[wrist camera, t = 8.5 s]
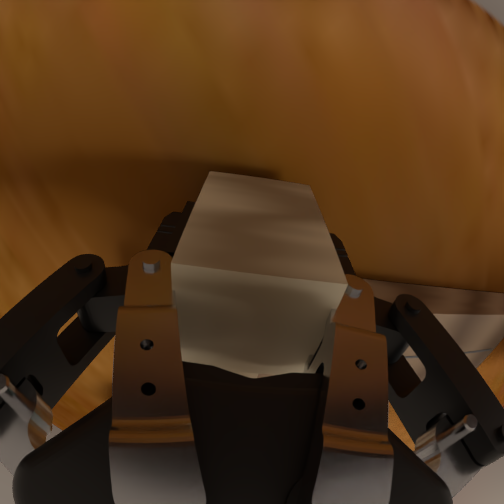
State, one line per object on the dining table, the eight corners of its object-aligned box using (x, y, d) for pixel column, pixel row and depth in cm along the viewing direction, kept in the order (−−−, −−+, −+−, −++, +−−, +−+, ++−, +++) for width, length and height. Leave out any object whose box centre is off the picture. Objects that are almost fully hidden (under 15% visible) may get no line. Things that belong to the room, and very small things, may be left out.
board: (506, 293, 16) (521, 314, 14) (447, 368, 22) (455, 389, 20) (155, 252, 15) (140, 284, 12) (166, 360, 20) (160, 388, 18)
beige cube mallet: (309, 185, 11) (348, 284, 6) (266, 342, 17) (267, 434, 12) (209, 171, 11) (171, 262, 6) (200, 335, 17) (185, 426, 12)
